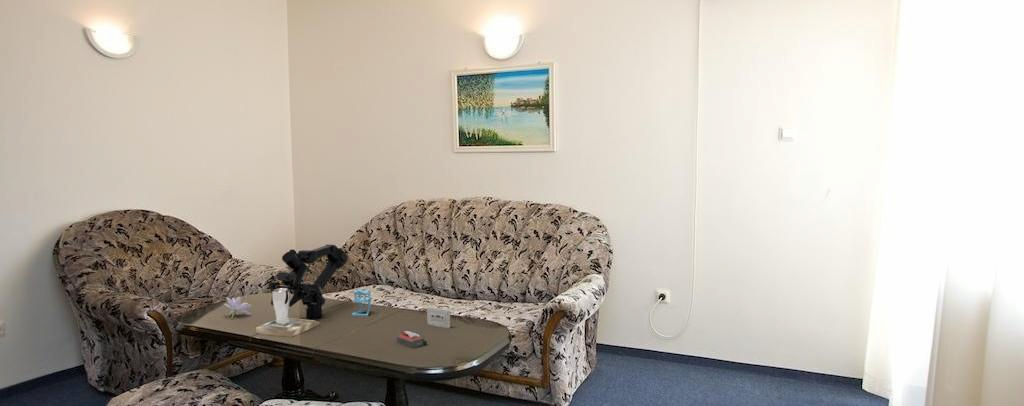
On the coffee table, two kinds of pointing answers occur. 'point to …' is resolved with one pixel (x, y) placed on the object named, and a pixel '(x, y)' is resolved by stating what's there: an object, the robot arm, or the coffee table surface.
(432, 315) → the cassette
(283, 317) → the beer glass
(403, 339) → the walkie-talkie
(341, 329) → the coffee table surface
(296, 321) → the dock
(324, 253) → the robot arm
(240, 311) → the water lily
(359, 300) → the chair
